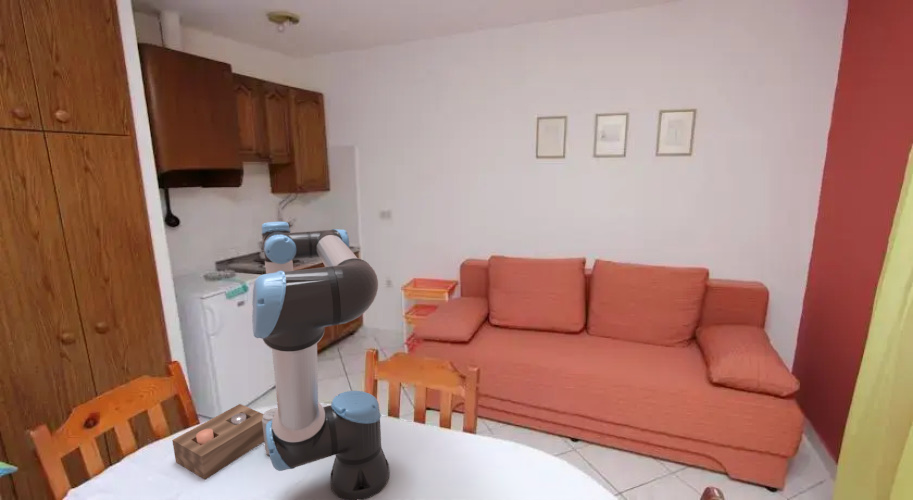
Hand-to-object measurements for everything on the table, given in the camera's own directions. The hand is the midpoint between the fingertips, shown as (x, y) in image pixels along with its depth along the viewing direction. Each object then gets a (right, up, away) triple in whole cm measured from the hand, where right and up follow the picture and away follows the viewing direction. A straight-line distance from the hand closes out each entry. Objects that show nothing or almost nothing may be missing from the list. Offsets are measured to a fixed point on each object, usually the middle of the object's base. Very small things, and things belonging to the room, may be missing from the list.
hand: (287, 347), depth 126 cm
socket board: (-15, -28, -6) cm, 33 cm away
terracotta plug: (-18, -27, -11) cm, 34 cm away
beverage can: (0, -29, -7) cm, 29 cm away
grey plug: (-13, -26, -2) cm, 29 cm away
